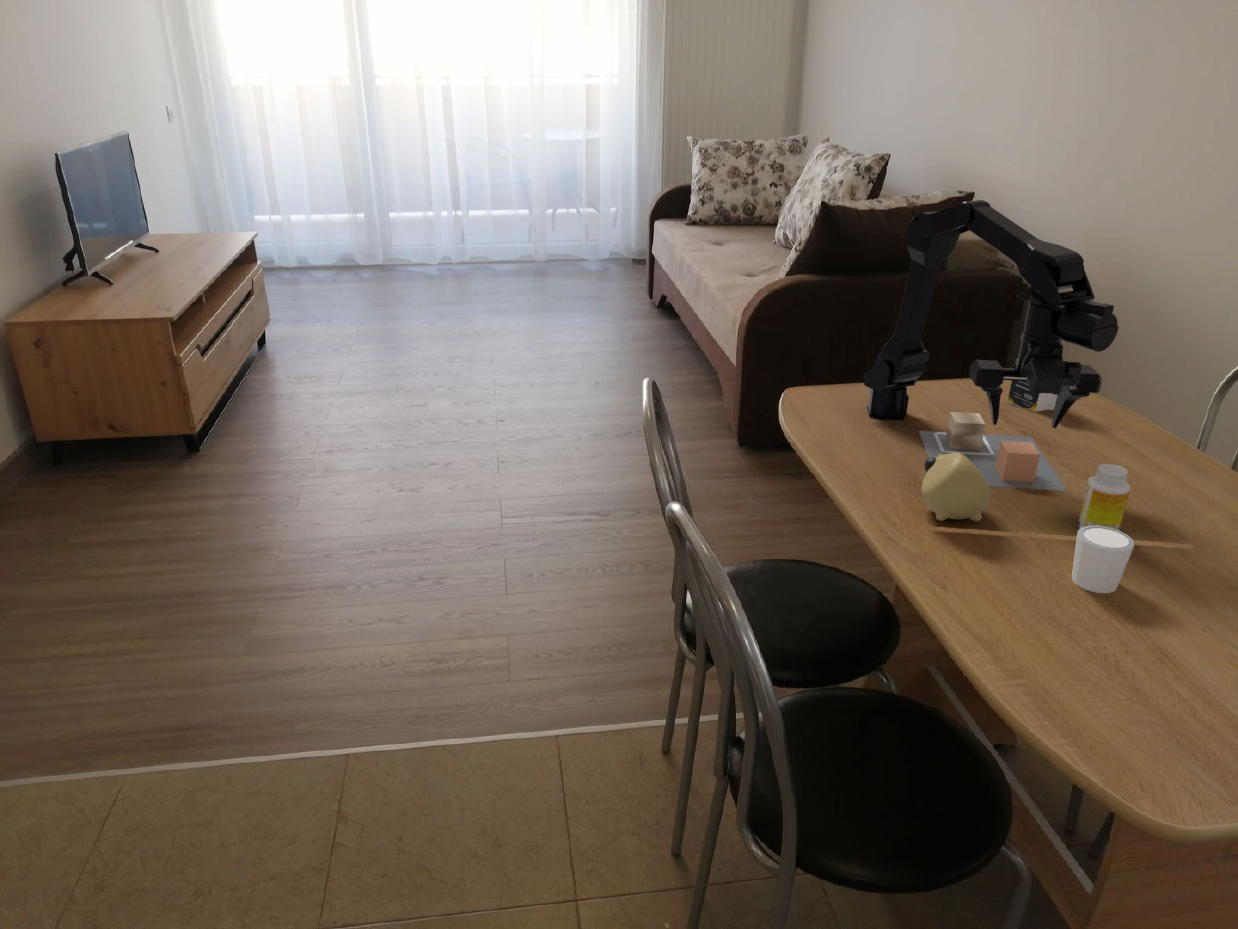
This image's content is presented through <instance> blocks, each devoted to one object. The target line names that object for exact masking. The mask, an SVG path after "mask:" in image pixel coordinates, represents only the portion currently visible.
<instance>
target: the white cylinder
mask: <svg viewBox="0 0 1238 929" xmlns="http://www.w3.org/2000/svg"><path fill="white" fill-rule="evenodd" d="M1134 542H1135V541H1134V539H1133V538H1131V536H1129V534H1126V533H1124V532H1122V531H1121V530H1120V529H1119V530H1116V529H1113V528H1109V527H1104V526H1085V527H1082V528H1080V527H1079V529H1078V530H1077V534H1076V542H1075V549H1074V550H1075V551H1074V556H1073V564H1072V571H1071V580H1072V581H1073V583H1074V584H1075V585H1077V586H1078V587H1080V588H1081V589H1083V590H1085V591H1088V592H1092V593H1096V594H1109V593H1114V592H1115V591H1116V590H1117V589H1118V587H1119V584H1120V582H1121V579H1122V577H1123V575H1124V572H1125V569H1126V567H1127V565H1128V562H1129V560H1130V557H1131V555H1132V552H1133V550H1134V547H1135V543H1134Z"/></svg>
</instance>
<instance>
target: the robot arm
mask: <svg viewBox="0 0 1238 929" xmlns="http://www.w3.org/2000/svg"><path fill="white" fill-rule="evenodd" d="M907 231H908V233H907V242H906V247H907V250H908V253H909V256H910V259H911V263H910V266H909V270H908V271H909V272H908V274H907V275H908V276H907V278H906V281H905V282H906V284H905V286H904V291H903V295H902V300H901V303H900V307H899V311H898V316H897V320H896V324H895V328H894V332H893V334H892V336H891V337H890V338H889V339H888V341H887V342H886V343H885V344H884V346H882V348H881V350H880V352H879V356H878V358H877V361H876V363H875V364H874V365H873V366H872V367H871V368H870V369H868V370H867V371H866V372H865V373H864V374H863V375H862V377H863V378H862V379H863V385H864V386H865V387H866V388H869V389H870V392H869V399H868V400H869V401H868V405H867V406H866V410H867V413H868V418H869V419H871V420H884V421H886V420H887V421H888V420H889V421H901V422H902V421H905V417H906V416H907V415H908V414H907V412H908V405H909V400H910V395H909V393H908V388H907V387H915V385H916V382H917V381H918V379H919V378H920V377H921V376H922V375H923V373H924V372H927V364H928V361H929V358H930V354H931V353H930V351H929V350H926V349H925V348H924V345H923V344H924V343H923V342H922V338H923V333H924V330H925V327H926V323H927V319H928V315H929V311H930V307H931V303H932V299H933V296H934V291H935V289H936V288H935V287H936V284H937V281H938V276H939V273H940V270H941V268H942V267H941V266H942V265H943V263H944V262H945V261H946V259H947V258H948V257H949V256H950V255H951V254H952V253H953V252H954V250H955V247H956V245H957V242H958V241H959V238H960V236H961V235H962V234H965V233H968V232H971V233H972V234H974V235H975V236H977V237H978V238H980V239H981V240H982V241H984V242H985V243H987V244H988V245H989V246H991V247H992V248H993V249H994V250H995V249H996V251H997V252H1000V253H1001V254H1002V255H1003V256H1005V257H1006V258H1007V259H1009V260H1011V261H1012V262H1013V263H1014V264H1015V265H1016V267H1017V269H1018V272H1019V275H1020V277H1021V278H1022V279H1023V280H1024V281H1025V283H1027V284H1028V286H1029V287H1028V288H1027V289H1026V290H1024V291H1022V292H1020V293H1019V294H1017V298H1018V299H1019V300H1022V301H1025V302H1029V303H1028V307H1027V312H1026V317H1025V322H1024V328H1023V332H1022V333H1020V339H1019V341H1021V342H1020V348H1019V352H1018V357H1016V358H1015V363H1014V364H1015V365H1016V367H1014V368H1013V367H1002V366H1001V364H1000V362H999V361H998V360H993V359H992V360H989V359H987V360H986V359H975V360H973V362H972V363H971V364H970V367H969V372H968V376H969V377H970V378H971V381H972V383H973V384H974V386H975V387H978V388H981V390H982V391H983V392H986V397H987V400H988V406H989V410H990V416H991V421H992V425H994V426H997V425H998V421H999V416H1000V407H1001V404H1000V403H1001V396H1002V395H1003V392H1004V390H1003V388H1002V386H1001V385H1003V383H1004V381H1012V380H1014V381H1028V384H1029V389H1030V391H1031V392H1033V393H1035V394H1041V393H1051V394H1054V395H1057V399H1056V403H1055V407H1054V410H1053V413H1052V418H1051V427H1052V429H1057V427H1058V426H1059V425H1060V423H1061V421H1062V419H1063V418H1064V417H1065V416H1066V414H1067V413H1068V411H1069V410H1070V408H1072V406H1073V405H1074V403H1076V402H1077V401H1078V400H1080V399H1082V398H1088V397H1089V396H1090V395H1091V394H1098V393H1100V390H1101V388H1102V383H1103V379H1102V376H1101V375H1100V374H1099V373H1098V372H1097V371H1096V369H1095V368H1093V367H1092V365H1091V364H1081V362H1080V361H1079V362H1078V361H1064V360H1063V358H1064V357H1063V353H1064V352H1063V351H1064V345H1063V341H1064V342H1066V343H1069V344H1072V345H1076V346H1079V347H1082V348H1085V349H1088V350H1091V351H1095V352H1099V353H1100V352H1103V351H1106V349H1108V348H1109V347H1110V346H1111V345H1112V344H1113V342H1114V341H1115V339H1116V338H1117V335H1118V331H1119V328H1120V327H1119V325H1118V318H1117V316H1116V315H1115V314H1114V313H1113V312H1114V309H1115V308H1114V305H1113V304H1109V303H1105V302H1104V303H1103V302H1102V303H1101V302H1097V301H1093V300H1095V294H1094V292H1093V288H1092V286H1091V283H1090V281H1089V278H1088V276H1087V272H1086V270H1085V266H1084V262H1085V260H1084V258H1083V256H1082V255H1081V254H1080V253H1078V252H1077V251H1074V250H1073V249H1070V248H1067V247H1065V246H1063V245H1060V244H1056V243H1052V242H1048V241H1044V240H1042V239H1039V238H1037V237H1036V236H1035V235H1034V234H1031V233H1030V232H1029V231H1028V230H1025V229H1024V228H1023V227H1021V226H1019V225H1018V224H1017V223H1015V222H1014V221H1012V220H1011V219H1010V218H1008V217H1006V216H1005V215H1004V214H1002V213H1001V212H1000V211H998V210H996V208H995V209H994V207H992V206H991V204H990V203H989V202H987V201H986V200H984V199H983V200H982V199H979V200H978V199H977V200H968V201H963V202H961V203H958V204H957V205H954V206H952V207H949V208H945V209H942V210H938V211H930V212H929V211H928V212H921V213H918V214H916V215H915V216H914V217H912V218H911V220H910V223H909V225H908V230H907ZM1069 289H1072V290H1069ZM1062 290H1069V291H1063V292H1059V291H1062Z"/></svg>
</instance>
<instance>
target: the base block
mask: <svg viewBox="0 0 1238 929" xmlns="http://www.w3.org/2000/svg"><path fill="white" fill-rule="evenodd" d="M947 425H948V426H947V431H946V432H947V435H946V438H947V441H948V443H949V445H950V447H951V449H965V450H981V445H982V440H983V434H985V429H986V423H985V421H984V419H983V417H982V416H981V414H980V413H977V412H961V411H960V412H958V411H950V413H949V418H948V423H947Z"/></svg>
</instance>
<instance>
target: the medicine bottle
mask: <svg viewBox="0 0 1238 929" xmlns="http://www.w3.org/2000/svg"><path fill="white" fill-rule="evenodd" d="M1010 381H1011V383H1010V388H1009V392H1008V399H1007V403H1009V404H1011V405H1013V406H1015V407H1017V408H1020V409H1022V408H1023V409H1028V410H1030V411H1032V412H1035V413H1036V412H1042V411H1047V410H1049V411H1050V412H1051V411H1054V407H1055V403H1056V399H1057V395H1054V394H1051V393H1041V394H1035V393H1033V392H1031V391H1030V389H1029V384H1028V381H1014V380H1010Z"/></svg>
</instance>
